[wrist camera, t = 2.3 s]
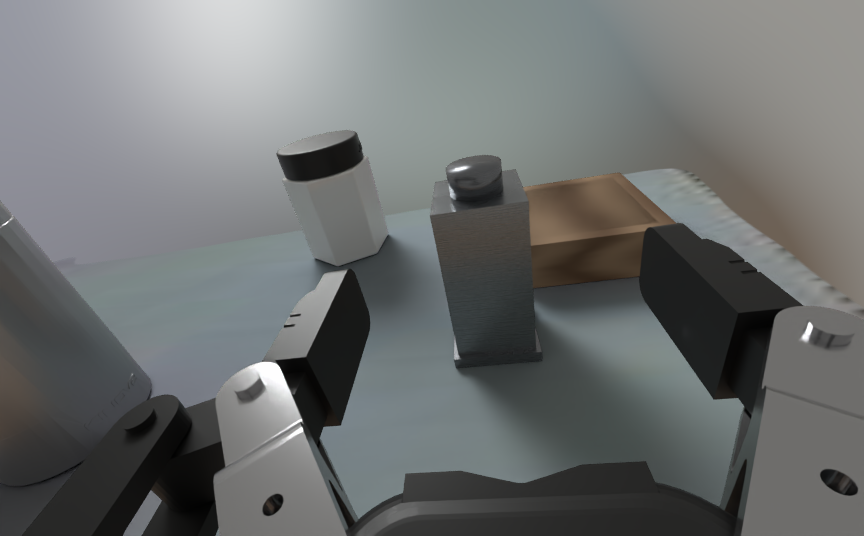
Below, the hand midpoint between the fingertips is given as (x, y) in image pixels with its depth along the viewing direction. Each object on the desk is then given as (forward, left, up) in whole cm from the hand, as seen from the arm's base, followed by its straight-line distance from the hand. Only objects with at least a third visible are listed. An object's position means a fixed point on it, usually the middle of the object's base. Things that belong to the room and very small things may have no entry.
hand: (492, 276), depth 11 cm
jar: (-15, +28, -13) cm, 35 cm away
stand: (+8, +22, -13) cm, 27 cm away
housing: (0, +11, -13) cm, 17 cm away
